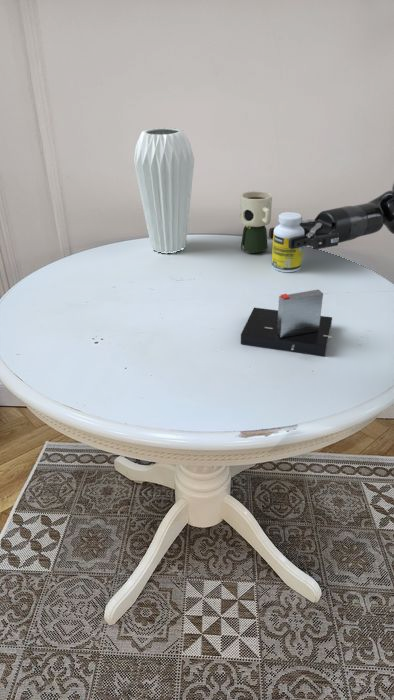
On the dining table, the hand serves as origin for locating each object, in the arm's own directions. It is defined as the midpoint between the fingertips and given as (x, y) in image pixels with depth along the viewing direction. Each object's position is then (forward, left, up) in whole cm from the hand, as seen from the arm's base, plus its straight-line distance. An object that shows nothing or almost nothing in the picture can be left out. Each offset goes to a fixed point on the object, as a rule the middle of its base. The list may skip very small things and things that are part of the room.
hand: (279, 238), depth 112 cm
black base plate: (-7, +29, -7) cm, 30 cm away
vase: (+27, -6, -7) cm, 29 cm away
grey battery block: (-9, +29, -5) cm, 31 cm away
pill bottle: (-2, -2, -7) cm, 8 cm away
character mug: (+7, -10, -7) cm, 14 cm away
